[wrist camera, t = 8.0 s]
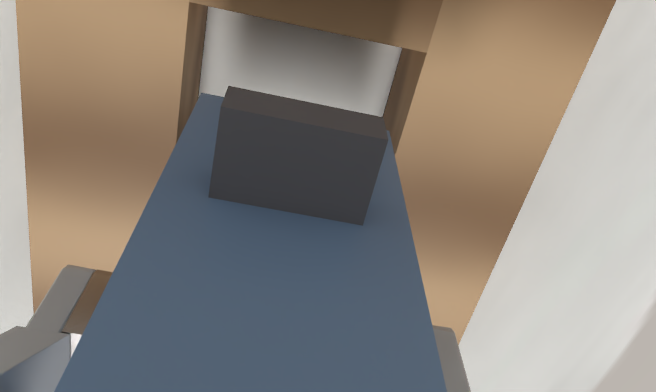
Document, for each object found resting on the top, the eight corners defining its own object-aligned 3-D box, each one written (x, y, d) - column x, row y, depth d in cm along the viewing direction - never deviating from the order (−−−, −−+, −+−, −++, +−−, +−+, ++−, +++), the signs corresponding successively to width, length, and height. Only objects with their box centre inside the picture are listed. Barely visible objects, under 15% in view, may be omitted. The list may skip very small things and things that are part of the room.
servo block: (209, 20, 11) (38, 289, 5) (408, 63, 12) (523, 366, 5) (170, 351, 16) (54, 737, 9) (316, 373, 16) (310, 756, 10)
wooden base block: (62, -260, 13) (-1, -282, 11) (606, -120, 15) (666, -110, 12) (70, 286, 21) (36, 348, 19) (418, 341, 23) (430, 405, 20)
